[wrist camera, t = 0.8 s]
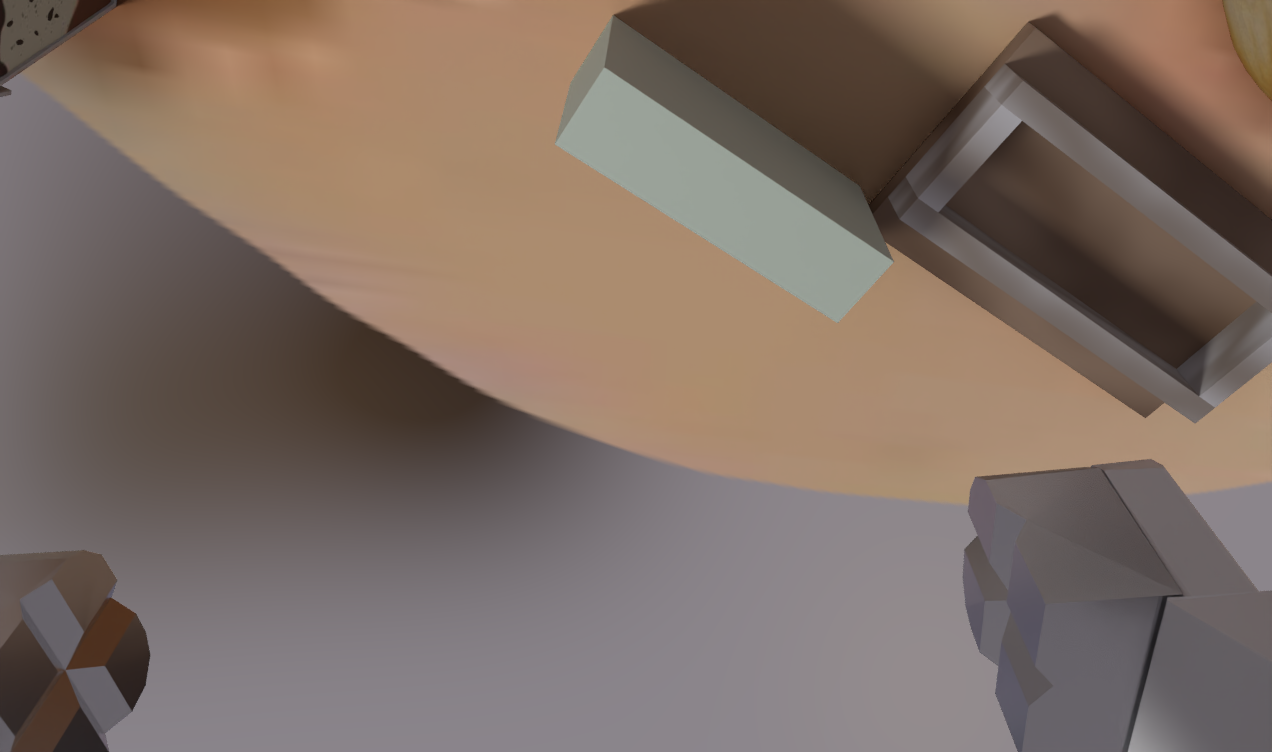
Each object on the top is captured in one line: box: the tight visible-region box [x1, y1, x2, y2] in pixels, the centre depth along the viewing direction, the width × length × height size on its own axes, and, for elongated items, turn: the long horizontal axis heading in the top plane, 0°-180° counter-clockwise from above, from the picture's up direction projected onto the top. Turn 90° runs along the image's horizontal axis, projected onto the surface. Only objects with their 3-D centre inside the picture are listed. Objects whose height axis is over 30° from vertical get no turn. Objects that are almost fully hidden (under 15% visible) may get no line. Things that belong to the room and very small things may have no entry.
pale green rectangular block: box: [555, 15, 894, 323], centre depth 41 cm, size 4×14×8 cm, turn 56°
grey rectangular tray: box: [869, 22, 1272, 423], centre depth 45 cm, size 11×20×4 cm, turn 56°
